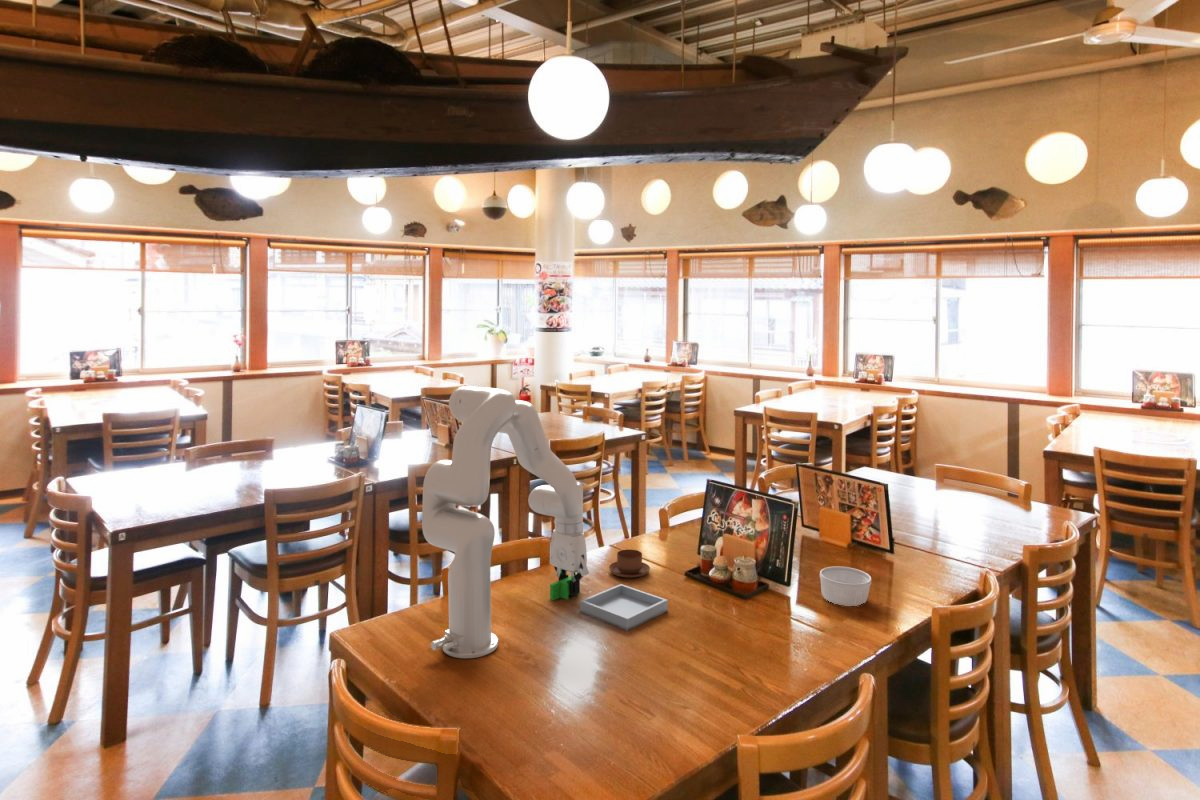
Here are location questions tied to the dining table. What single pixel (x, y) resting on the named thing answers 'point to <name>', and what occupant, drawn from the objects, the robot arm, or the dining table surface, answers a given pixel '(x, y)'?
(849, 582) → the ramekin
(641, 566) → the cup and saucer
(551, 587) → the green branched block
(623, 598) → the tray
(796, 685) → the dining table surface
